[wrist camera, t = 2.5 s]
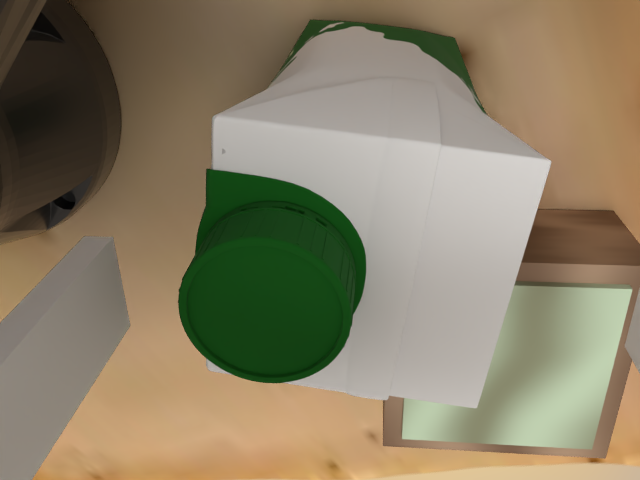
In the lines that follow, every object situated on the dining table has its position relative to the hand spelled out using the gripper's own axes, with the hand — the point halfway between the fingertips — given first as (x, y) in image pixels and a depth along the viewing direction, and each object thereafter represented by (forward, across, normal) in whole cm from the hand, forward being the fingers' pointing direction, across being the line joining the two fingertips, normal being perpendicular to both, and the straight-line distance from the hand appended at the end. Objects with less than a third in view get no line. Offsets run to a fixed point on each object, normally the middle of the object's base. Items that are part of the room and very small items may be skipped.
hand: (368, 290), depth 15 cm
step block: (+18, +7, -12) cm, 23 cm away
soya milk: (+18, 0, 0) cm, 18 cm away
